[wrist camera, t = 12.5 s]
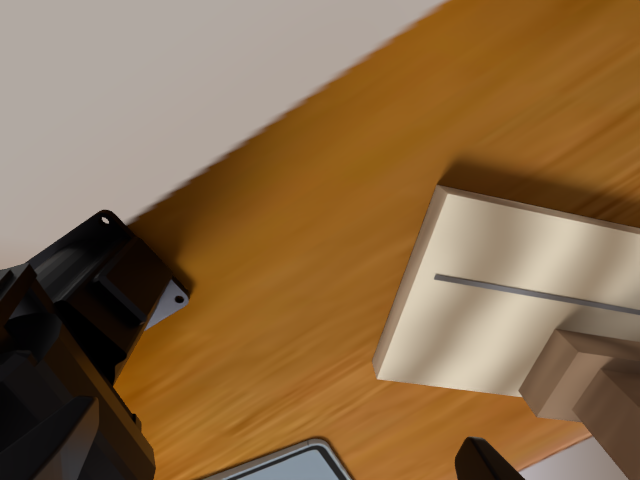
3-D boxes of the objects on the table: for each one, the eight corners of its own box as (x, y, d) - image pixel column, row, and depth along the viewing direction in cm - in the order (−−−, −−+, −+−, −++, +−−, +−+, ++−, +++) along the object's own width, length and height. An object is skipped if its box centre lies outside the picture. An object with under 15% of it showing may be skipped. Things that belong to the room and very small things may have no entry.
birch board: (371, 361, 24) (377, 379, 23) (437, 184, 19) (448, 193, 18) (609, 392, 27) (627, 410, 25) (717, 245, 22) (746, 257, 21)
